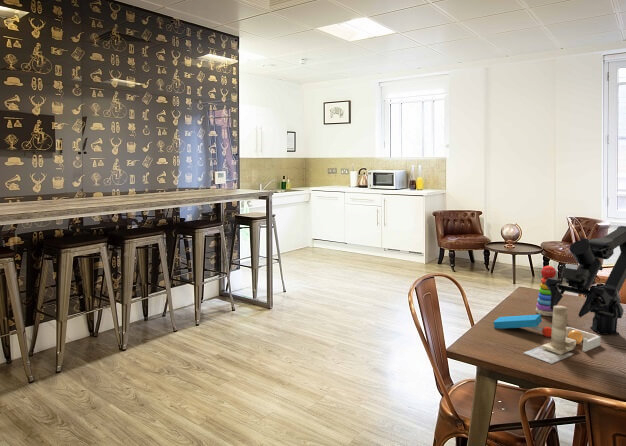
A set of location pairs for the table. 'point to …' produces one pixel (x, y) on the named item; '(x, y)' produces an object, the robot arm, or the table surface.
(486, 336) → the table surface
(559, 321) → the beige peg stand
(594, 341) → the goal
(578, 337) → the ball
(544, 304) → the stacking toy
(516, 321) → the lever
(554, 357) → the grey rectangular plate
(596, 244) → the robot arm
